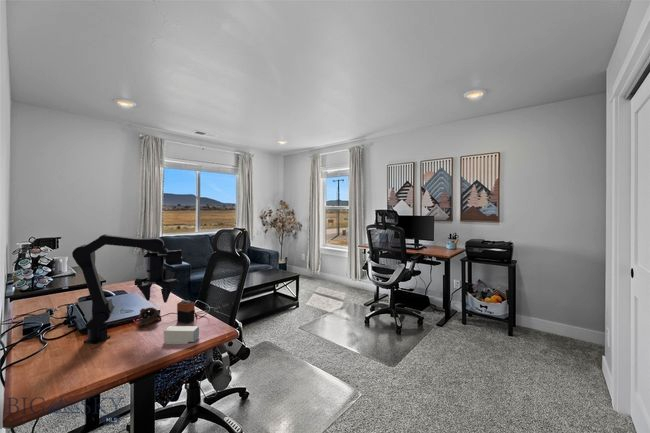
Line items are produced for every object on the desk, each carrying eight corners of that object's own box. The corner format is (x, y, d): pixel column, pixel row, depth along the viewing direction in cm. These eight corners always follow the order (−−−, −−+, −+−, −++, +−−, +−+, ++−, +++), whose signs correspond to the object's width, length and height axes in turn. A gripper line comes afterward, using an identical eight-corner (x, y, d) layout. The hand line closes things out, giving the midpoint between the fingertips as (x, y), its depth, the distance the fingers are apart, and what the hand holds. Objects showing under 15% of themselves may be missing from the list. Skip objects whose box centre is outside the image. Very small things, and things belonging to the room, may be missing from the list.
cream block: (163, 330, 118) (194, 330, 118) (169, 326, 123) (198, 326, 123) (163, 341, 118) (194, 341, 119) (169, 336, 123) (198, 336, 123)
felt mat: (164, 344, 117) (164, 343, 117) (172, 336, 124) (172, 335, 124) (186, 344, 117) (186, 343, 117) (194, 336, 124) (194, 335, 124)
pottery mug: (167, 321, 141) (163, 309, 136) (149, 336, 134) (144, 325, 129) (150, 311, 145) (146, 299, 141) (132, 325, 138) (127, 314, 134)
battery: (187, 324, 137) (187, 303, 136) (176, 322, 139) (176, 301, 138) (194, 320, 141) (194, 300, 140) (184, 318, 143) (184, 298, 143)
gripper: (187, 264, 134) (187, 298, 134) (154, 261, 138) (154, 294, 139) (168, 269, 123) (168, 306, 124) (133, 266, 128) (133, 301, 128)
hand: (156, 301), depth 129 cm, fingers open, 9 cm apart
